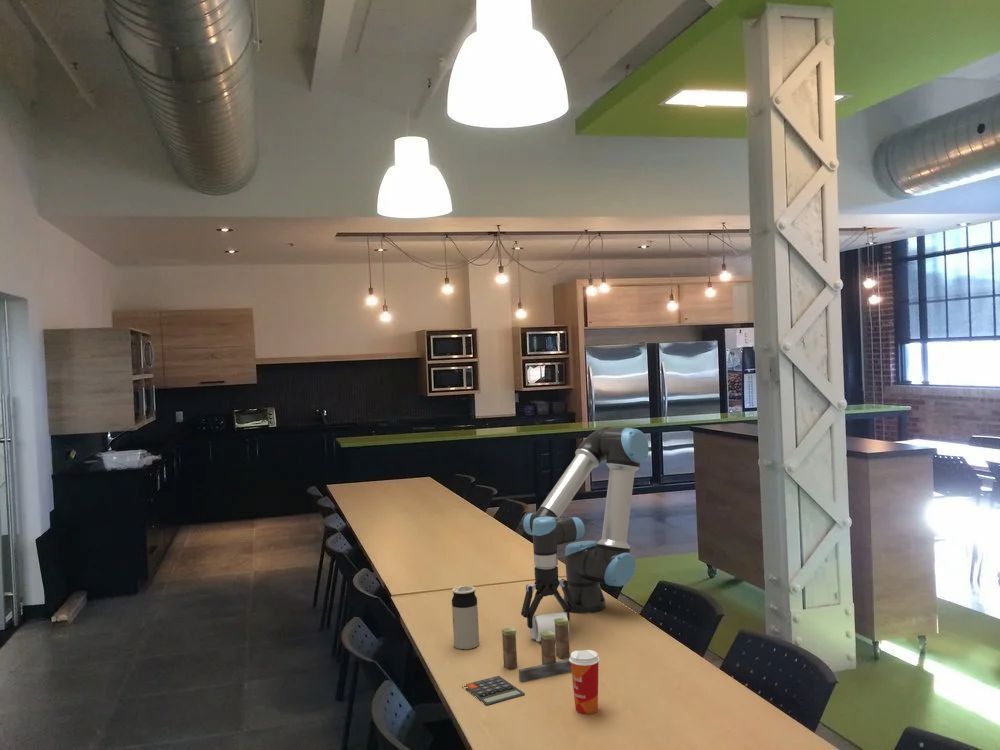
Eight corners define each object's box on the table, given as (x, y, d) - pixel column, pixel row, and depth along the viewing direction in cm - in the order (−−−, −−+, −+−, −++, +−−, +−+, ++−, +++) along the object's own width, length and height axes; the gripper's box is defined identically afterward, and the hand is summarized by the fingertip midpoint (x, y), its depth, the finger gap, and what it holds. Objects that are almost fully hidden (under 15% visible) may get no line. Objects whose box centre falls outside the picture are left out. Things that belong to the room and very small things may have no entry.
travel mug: (482, 642, 253) (480, 585, 253) (473, 651, 246) (471, 593, 245) (459, 640, 256) (456, 584, 256) (450, 649, 248) (447, 591, 248)
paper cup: (569, 703, 205) (566, 650, 205) (598, 701, 206) (595, 647, 205) (574, 717, 197) (571, 661, 197) (605, 714, 198) (602, 658, 197)
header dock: (565, 653, 240) (563, 617, 240) (585, 668, 228) (584, 630, 227) (503, 666, 232) (501, 628, 232) (520, 682, 220) (519, 642, 220)
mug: (570, 641, 250) (568, 616, 250) (539, 645, 248) (538, 620, 248) (559, 629, 262) (558, 605, 262) (530, 632, 260) (528, 608, 260)
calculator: (498, 674, 225) (525, 693, 212) (498, 678, 225) (525, 696, 212) (461, 684, 219) (486, 703, 206) (461, 687, 219) (486, 707, 206)
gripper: (573, 558, 262) (576, 625, 263) (508, 568, 254) (511, 637, 254) (583, 563, 255) (586, 632, 256) (517, 574, 247) (520, 644, 247)
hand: (549, 634), depth 255 cm, fingers closed on mug, 10 cm apart
